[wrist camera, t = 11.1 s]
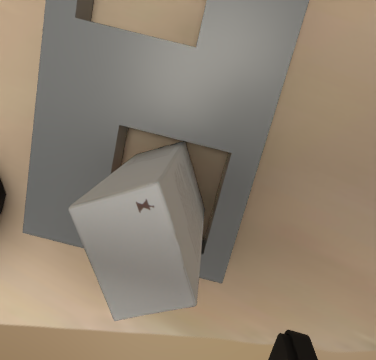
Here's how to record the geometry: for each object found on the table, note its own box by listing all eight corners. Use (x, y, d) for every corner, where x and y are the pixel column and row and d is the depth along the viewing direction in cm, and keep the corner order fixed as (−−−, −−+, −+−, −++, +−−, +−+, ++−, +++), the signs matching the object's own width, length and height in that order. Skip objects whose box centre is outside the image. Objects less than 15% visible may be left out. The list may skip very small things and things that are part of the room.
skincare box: (134, 154, 24) (62, 203, 13) (185, 139, 24) (160, 177, 12) (157, 223, 26) (111, 325, 14) (206, 211, 25) (201, 308, 13)
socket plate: (328, -91, 19) (345, -118, 17) (221, 266, 26) (222, 283, 24) (82, -150, 19) (64, -185, 17) (40, 220, 26) (22, 232, 24)
